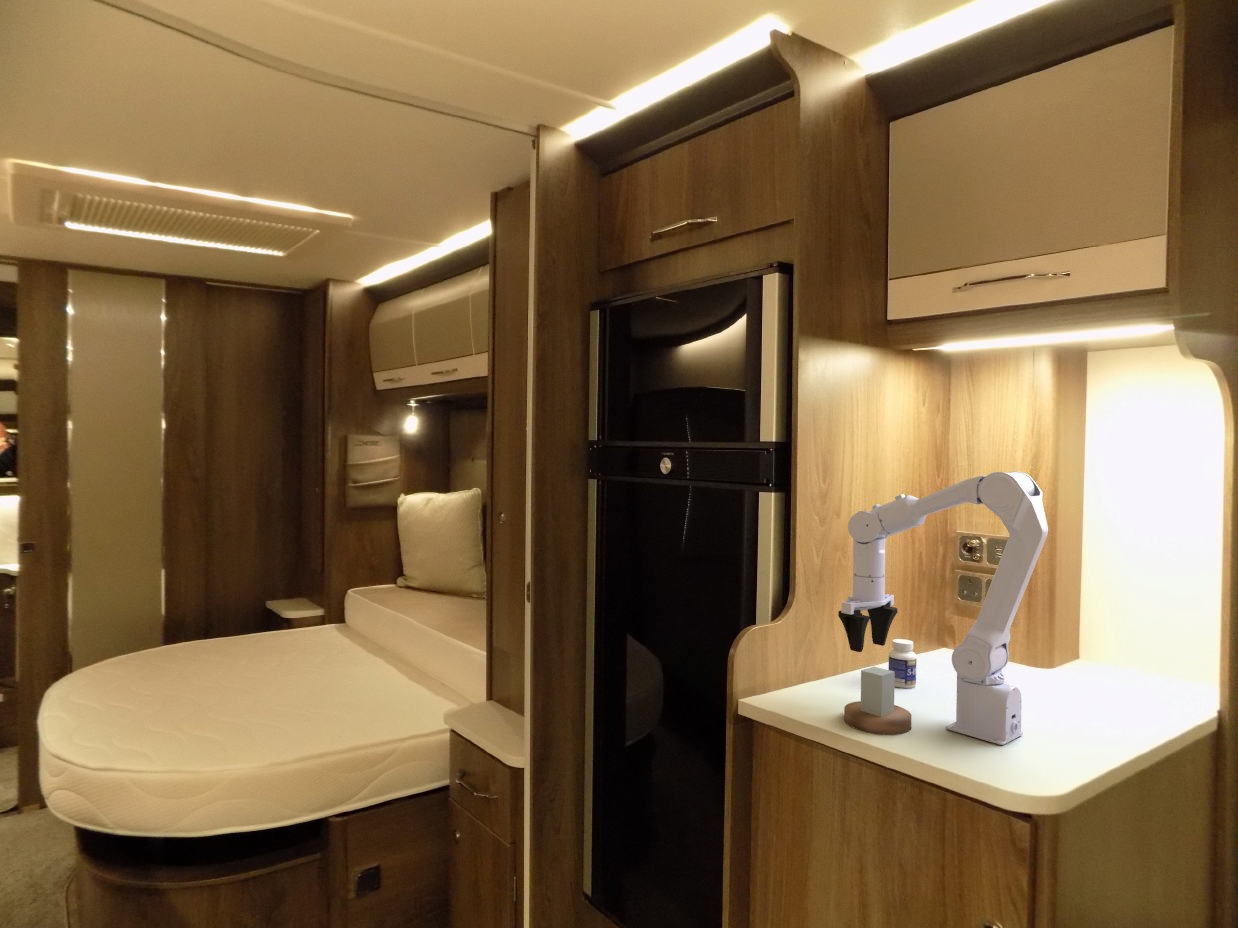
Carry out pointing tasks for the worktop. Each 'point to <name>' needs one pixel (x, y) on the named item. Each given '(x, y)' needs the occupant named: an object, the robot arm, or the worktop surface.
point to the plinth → (877, 720)
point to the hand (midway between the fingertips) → (867, 647)
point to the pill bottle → (903, 663)
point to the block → (877, 691)
